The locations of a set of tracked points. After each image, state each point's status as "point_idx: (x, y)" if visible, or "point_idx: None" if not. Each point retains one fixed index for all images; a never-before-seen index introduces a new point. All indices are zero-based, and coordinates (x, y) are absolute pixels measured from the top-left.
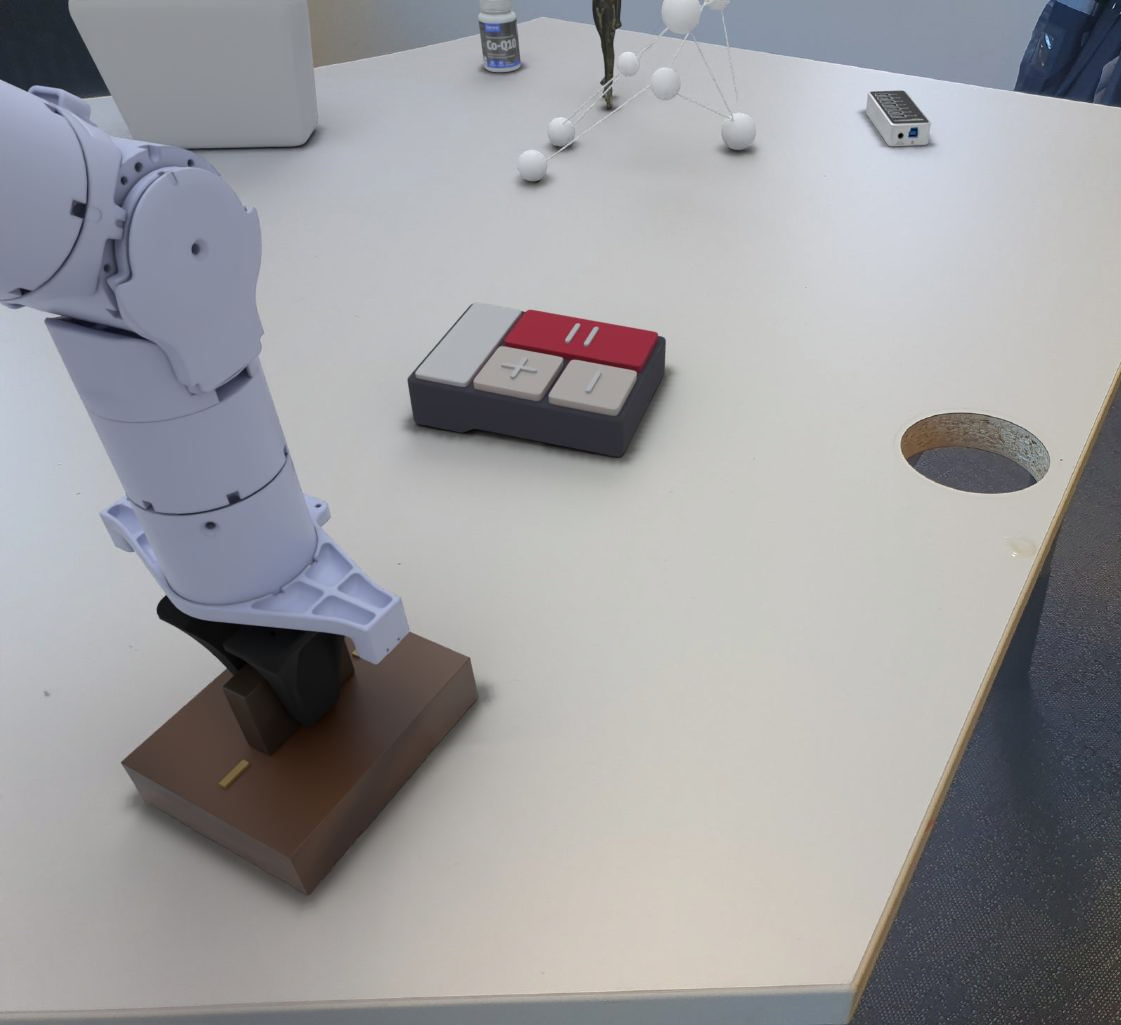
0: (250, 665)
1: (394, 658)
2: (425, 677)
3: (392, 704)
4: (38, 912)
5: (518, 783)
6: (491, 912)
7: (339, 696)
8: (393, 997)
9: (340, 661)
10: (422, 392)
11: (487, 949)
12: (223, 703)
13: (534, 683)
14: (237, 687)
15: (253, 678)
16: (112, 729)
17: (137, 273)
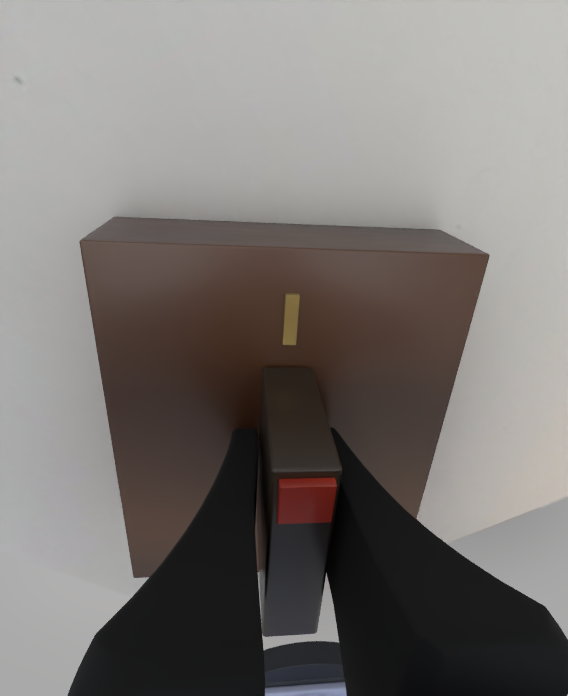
0: (276, 602)
1: (357, 316)
2: (431, 326)
3: (405, 387)
4: None
5: (543, 326)
6: (555, 448)
7: (336, 430)
8: (495, 524)
9: (372, 475)
10: None
11: (561, 471)
12: (168, 483)
13: (518, 163)
14: (290, 629)
15: (300, 611)
16: (17, 475)
17: None
